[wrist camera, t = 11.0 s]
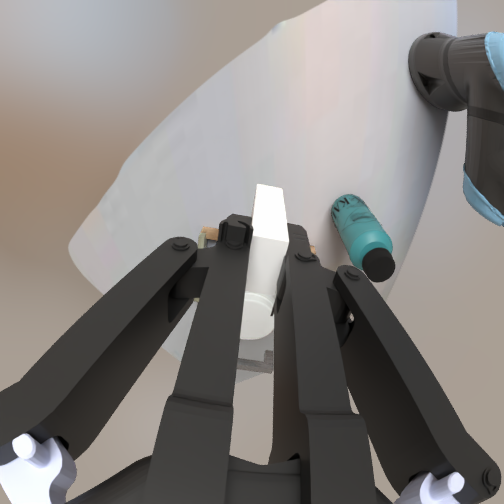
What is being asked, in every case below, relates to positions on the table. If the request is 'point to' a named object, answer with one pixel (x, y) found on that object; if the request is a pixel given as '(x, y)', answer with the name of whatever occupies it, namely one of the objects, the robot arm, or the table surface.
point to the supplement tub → (257, 315)
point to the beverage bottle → (363, 238)
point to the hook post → (257, 364)
